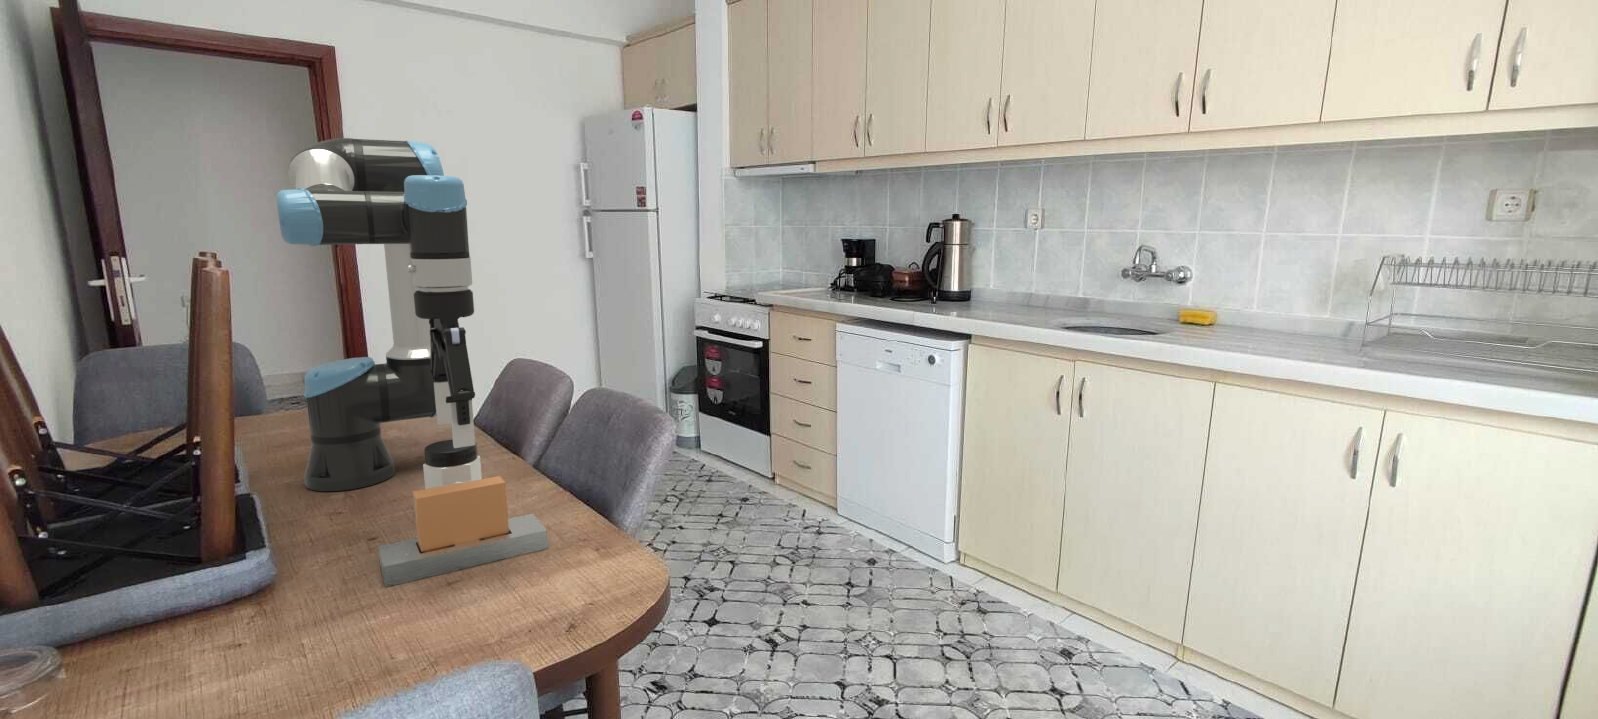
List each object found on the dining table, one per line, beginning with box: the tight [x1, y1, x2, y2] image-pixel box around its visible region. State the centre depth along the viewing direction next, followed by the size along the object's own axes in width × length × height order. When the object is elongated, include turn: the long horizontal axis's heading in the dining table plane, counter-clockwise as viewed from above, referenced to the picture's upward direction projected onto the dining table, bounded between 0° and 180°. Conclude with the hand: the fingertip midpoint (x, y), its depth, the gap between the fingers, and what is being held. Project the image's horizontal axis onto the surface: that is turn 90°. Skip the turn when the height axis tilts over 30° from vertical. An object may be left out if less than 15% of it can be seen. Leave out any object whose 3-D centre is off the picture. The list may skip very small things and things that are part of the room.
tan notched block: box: [412, 475, 509, 553], centre depth 109 cm, size 4×12×11 cm, turn 124°
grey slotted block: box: [377, 513, 549, 588], centre depth 110 cm, size 8×22×3 cm, turn 124°
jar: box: [422, 438, 483, 489], centre depth 127 cm, size 9×8×12 cm
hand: (455, 434), depth 107 cm, fingers open, 13 cm apart
